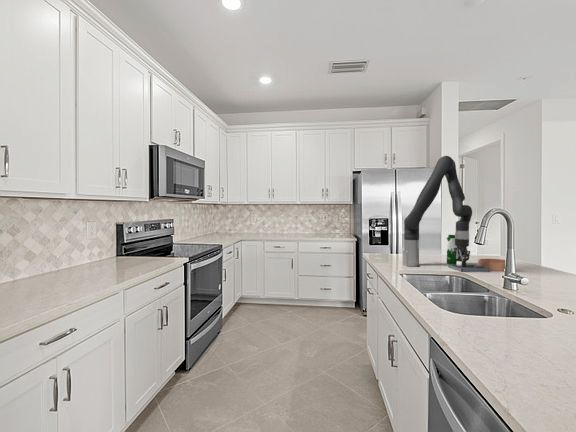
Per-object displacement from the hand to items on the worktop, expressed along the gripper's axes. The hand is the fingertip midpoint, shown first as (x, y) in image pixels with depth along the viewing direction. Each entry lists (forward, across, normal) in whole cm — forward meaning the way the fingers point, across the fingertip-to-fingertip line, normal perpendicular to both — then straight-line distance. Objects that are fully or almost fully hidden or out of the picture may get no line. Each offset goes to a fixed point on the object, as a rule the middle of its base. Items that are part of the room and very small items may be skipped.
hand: (461, 266), depth 188 cm
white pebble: (0, 0, 0) cm, 0 cm away
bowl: (+3, -3, +22) cm, 23 cm away
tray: (+3, 0, +4) cm, 5 cm away
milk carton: (+3, -21, +7) cm, 22 cm away
